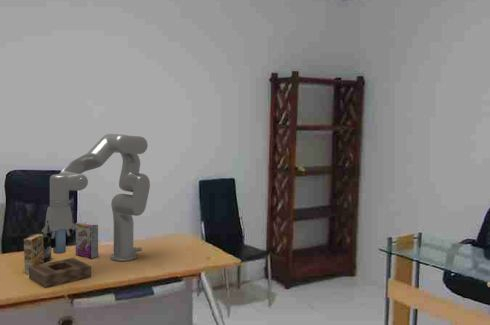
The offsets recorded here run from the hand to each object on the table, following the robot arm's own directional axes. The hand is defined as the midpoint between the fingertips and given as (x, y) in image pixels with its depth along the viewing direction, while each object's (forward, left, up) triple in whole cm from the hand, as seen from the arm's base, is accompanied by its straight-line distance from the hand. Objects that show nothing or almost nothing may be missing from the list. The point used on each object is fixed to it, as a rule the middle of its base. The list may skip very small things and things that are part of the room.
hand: (59, 245), depth 209 cm
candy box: (+4, -17, -14) cm, 23 cm away
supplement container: (-4, -30, -14) cm, 34 cm away
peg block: (0, 0, -14) cm, 14 cm away
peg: (0, 0, -3) cm, 3 cm away
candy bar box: (-24, -22, -14) cm, 36 cm away
